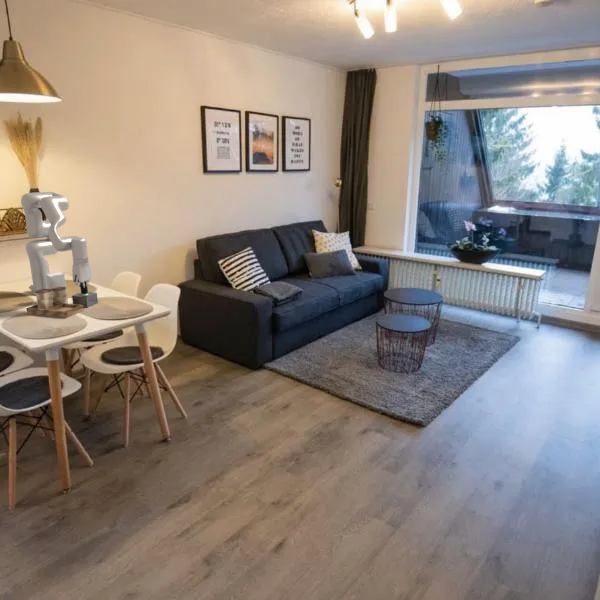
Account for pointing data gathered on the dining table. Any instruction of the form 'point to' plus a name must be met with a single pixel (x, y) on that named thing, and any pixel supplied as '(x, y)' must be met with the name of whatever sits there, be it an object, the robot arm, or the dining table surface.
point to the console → (85, 299)
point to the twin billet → (44, 298)
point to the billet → (59, 294)
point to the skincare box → (56, 280)
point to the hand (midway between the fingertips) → (84, 293)
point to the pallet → (57, 310)
